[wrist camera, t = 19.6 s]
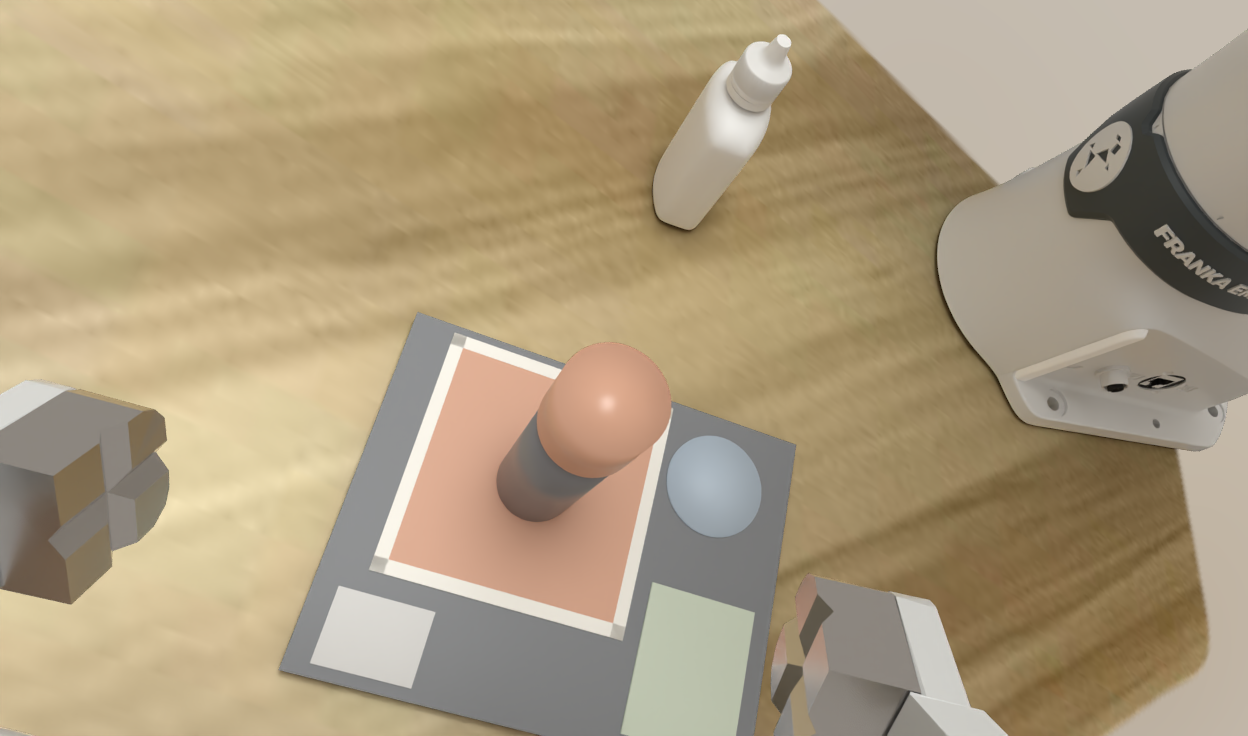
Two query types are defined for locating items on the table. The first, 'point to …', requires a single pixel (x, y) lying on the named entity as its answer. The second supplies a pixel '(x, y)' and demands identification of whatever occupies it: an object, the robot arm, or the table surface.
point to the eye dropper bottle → (720, 133)
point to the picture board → (546, 563)
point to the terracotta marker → (584, 430)
